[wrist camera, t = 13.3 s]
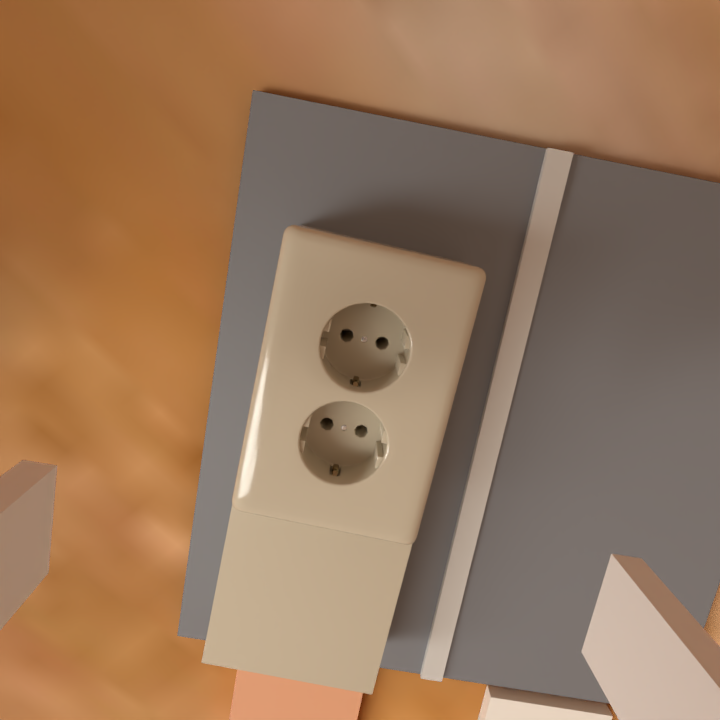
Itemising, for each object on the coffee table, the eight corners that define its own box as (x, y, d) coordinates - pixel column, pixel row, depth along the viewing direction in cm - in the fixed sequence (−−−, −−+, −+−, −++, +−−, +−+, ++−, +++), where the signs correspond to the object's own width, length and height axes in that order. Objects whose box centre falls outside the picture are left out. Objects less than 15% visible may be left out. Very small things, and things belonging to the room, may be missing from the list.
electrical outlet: (195, 679, 24) (283, 222, 20) (218, 614, 28) (295, 223, 24) (372, 712, 24) (491, 270, 20) (370, 643, 28) (469, 263, 24)
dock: (167, 724, 30) (161, 739, 29) (255, 93, 24) (251, 88, 23) (636, 794, 31) (644, 811, 30) (838, 209, 25) (856, 209, 24)
